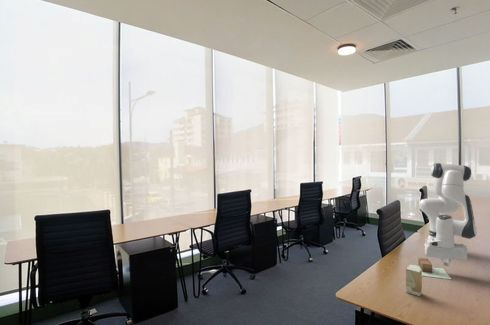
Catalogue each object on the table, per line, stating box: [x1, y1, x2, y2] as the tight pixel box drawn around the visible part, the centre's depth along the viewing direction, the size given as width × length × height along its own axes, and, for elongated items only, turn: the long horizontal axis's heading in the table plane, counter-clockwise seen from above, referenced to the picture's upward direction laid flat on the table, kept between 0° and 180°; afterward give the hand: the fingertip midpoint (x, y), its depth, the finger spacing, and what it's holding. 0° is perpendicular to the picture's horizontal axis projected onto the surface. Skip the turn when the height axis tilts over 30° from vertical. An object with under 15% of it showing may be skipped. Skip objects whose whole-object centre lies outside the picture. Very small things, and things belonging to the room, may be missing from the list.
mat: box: [408, 264, 452, 280], centre depth 157 cm, size 16×18×1 cm
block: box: [417, 257, 433, 273], centre depth 160 cm, size 5×5×11 cm
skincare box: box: [405, 265, 423, 297], centre depth 132 cm, size 6×4×12 cm
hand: (445, 265), depth 156 cm, fingers closed
